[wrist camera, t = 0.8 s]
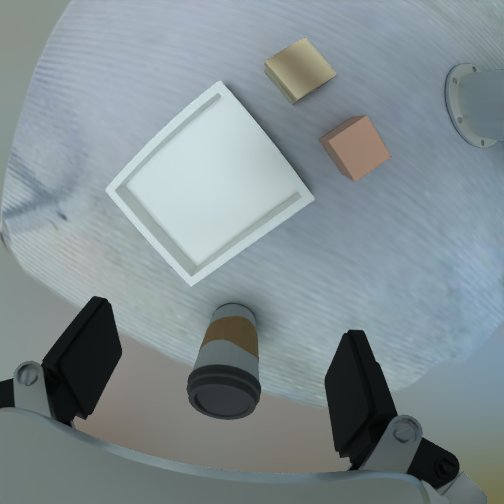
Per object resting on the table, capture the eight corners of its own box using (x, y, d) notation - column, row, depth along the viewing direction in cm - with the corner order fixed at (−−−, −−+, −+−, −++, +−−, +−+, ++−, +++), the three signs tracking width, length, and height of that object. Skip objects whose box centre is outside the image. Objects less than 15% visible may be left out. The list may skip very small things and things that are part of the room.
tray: (224, 85, 27) (219, 79, 23) (310, 192, 31) (315, 199, 28) (118, 183, 32) (104, 190, 29) (197, 273, 37) (191, 286, 33)
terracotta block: (351, 117, 27) (366, 115, 23) (374, 152, 29) (391, 156, 24) (318, 139, 29) (328, 141, 24) (342, 174, 30) (355, 182, 26)
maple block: (299, 50, 24) (305, 36, 20) (326, 82, 26) (337, 74, 21) (264, 72, 26) (264, 61, 21) (292, 104, 27) (297, 99, 23)
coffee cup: (195, 320, 40) (170, 400, 26) (228, 285, 37) (210, 369, 24) (239, 348, 42) (230, 428, 28) (274, 317, 39) (277, 402, 26)
